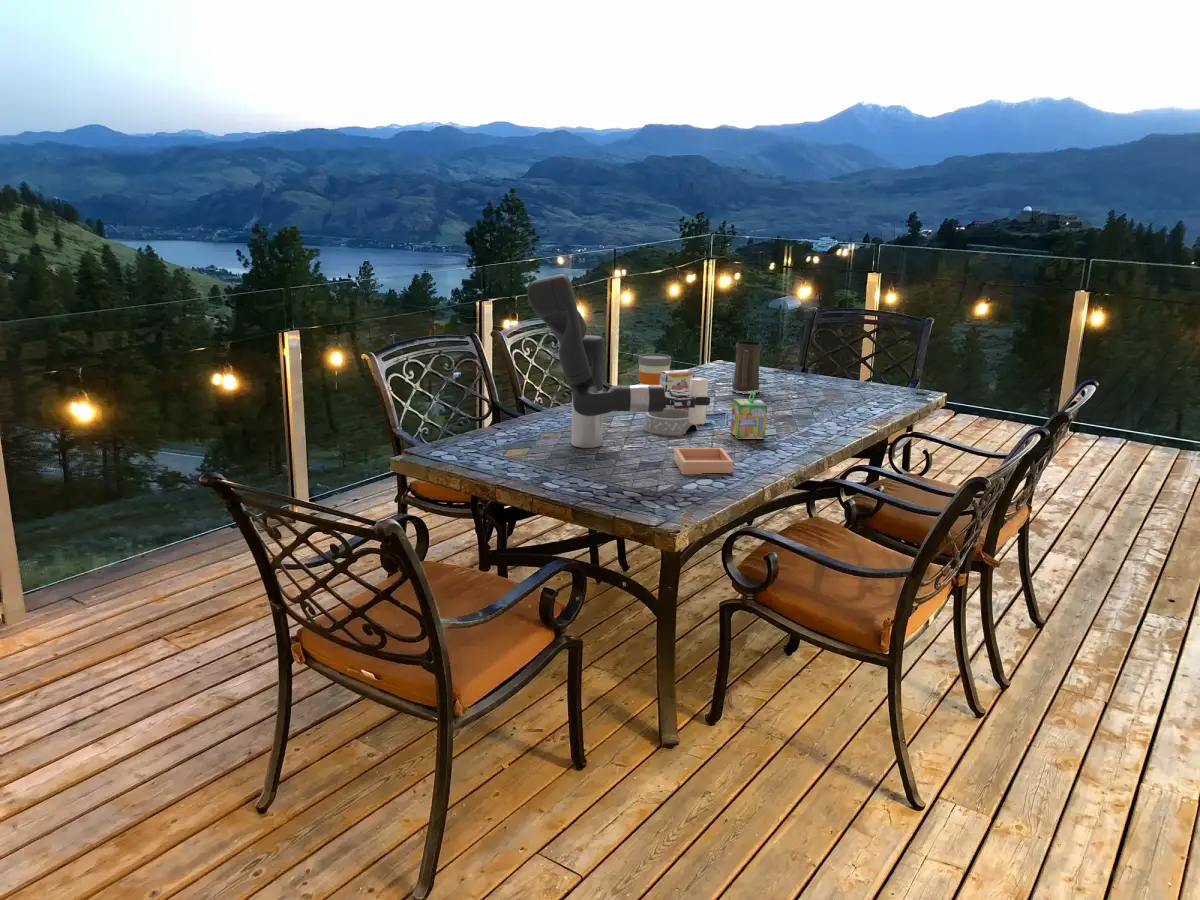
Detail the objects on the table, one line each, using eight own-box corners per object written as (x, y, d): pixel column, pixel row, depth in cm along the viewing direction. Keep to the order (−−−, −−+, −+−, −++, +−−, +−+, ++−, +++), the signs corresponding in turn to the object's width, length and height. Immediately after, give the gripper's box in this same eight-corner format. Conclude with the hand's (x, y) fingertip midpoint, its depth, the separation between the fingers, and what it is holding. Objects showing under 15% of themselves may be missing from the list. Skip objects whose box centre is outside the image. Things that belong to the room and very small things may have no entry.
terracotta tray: (673, 459, 254) (674, 448, 253) (721, 459, 256) (722, 447, 255) (682, 474, 241) (683, 462, 240) (732, 473, 242) (733, 461, 241)
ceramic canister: (686, 420, 244) (688, 377, 241) (703, 420, 245) (706, 377, 242) (689, 424, 240) (691, 380, 237) (707, 424, 240) (709, 380, 237)
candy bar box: (664, 421, 299) (666, 373, 294) (657, 417, 303) (659, 370, 298) (692, 418, 303) (695, 371, 299) (685, 415, 308) (687, 368, 303)
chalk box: (729, 433, 285) (732, 388, 281) (757, 433, 286) (760, 388, 282) (736, 440, 276) (739, 394, 272) (765, 440, 277) (768, 394, 273)
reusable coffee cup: (637, 398, 332) (639, 358, 328) (636, 391, 344) (637, 353, 340) (671, 398, 332) (672, 359, 328) (668, 391, 344) (670, 353, 340)
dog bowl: (632, 429, 288) (632, 413, 287) (665, 419, 302) (665, 404, 300) (675, 439, 278) (676, 422, 276) (707, 428, 291) (708, 412, 290)
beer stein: (731, 388, 353) (734, 339, 346) (758, 389, 352) (761, 339, 345) (732, 398, 339) (736, 348, 332) (760, 400, 338) (764, 348, 331)
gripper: (649, 390, 232) (713, 390, 233) (643, 379, 245) (703, 380, 247) (648, 418, 234) (712, 418, 235) (642, 406, 247) (702, 406, 249)
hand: (707, 398), depth 241 cm, fingers closed on ceramic canister, 4 cm apart
